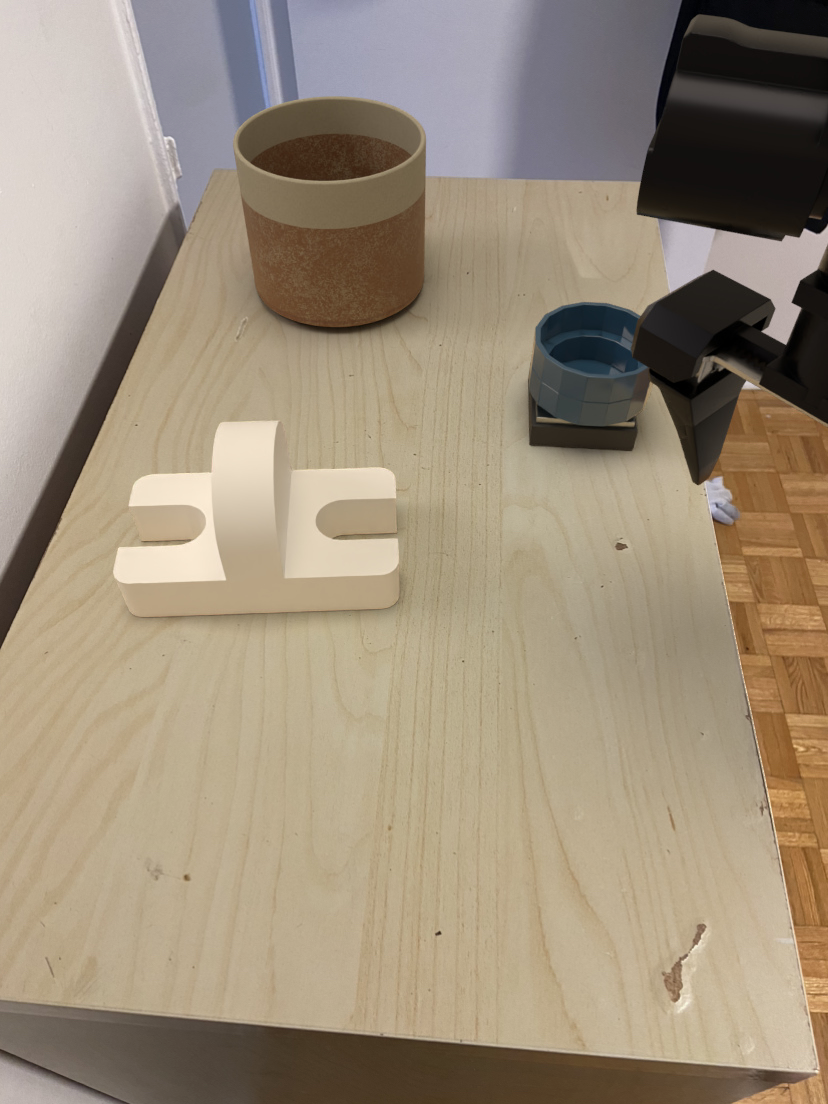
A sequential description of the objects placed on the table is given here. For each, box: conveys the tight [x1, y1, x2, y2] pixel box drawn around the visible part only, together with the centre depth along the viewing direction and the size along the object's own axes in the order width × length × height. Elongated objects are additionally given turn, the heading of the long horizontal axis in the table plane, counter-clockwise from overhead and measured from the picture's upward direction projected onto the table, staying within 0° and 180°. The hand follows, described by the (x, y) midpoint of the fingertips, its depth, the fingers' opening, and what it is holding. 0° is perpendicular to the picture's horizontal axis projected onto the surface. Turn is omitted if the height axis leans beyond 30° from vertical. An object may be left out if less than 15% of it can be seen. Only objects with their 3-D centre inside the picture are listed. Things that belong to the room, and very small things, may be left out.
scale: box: [527, 361, 639, 451], centre depth 67 cm, size 8×8×3 cm
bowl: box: [528, 301, 654, 426], centre depth 64 cm, size 9×9×5 cm
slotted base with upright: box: [112, 419, 400, 618], centre depth 54 cm, size 10×18×11 cm, turn 93°
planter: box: [232, 95, 427, 328], centre depth 74 cm, size 16×16×14 cm
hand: (772, 528), depth 44 cm, fingers open, 9 cm apart
